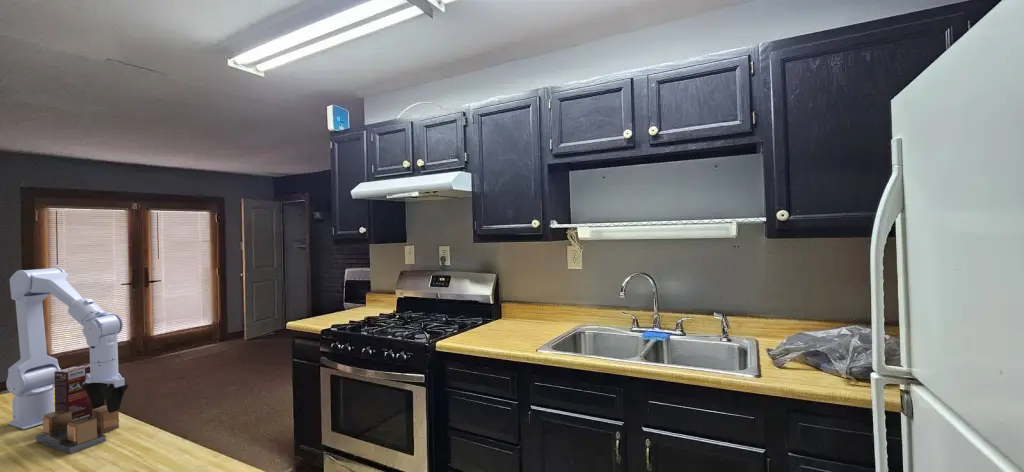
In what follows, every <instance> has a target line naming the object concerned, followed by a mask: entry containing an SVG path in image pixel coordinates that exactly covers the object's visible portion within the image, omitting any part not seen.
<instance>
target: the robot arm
mask: <svg viewBox="0 0 1024 472" xmlns="http://www.w3.org/2000/svg"><path fill="white" fill-rule="evenodd" d="M69 279H70V278H69V274H68V273H67V272H66V271H65V270H64V269H63V268H61V267H59V266H56V267H55V266H54V267H49V268H37V269H36V268H35V269H26V270H25V269H19V270H16V271H15V272H14V273H13V274H12V276H11V277H10V278H9V288H10V289H9V290H10V295H11V297H10V298H11V300H14V301H15V311H16V320H17V321H16V322H17V330H18V332H17V333H18V344H19V352H20V353H19V354H20V359H18V361H16V362H15V363H13V365H11V366H10V367H9V368H8V369H7V371H8V372H7V379H6V383H5V384H6V386H5V387H6V389H7V391H8V392H9V393H10V394H12V395H13V398H12V402H11V404H12V406H11V407H12V409H11V410H12V420H11V421H9V422H7V423H8V425H10V426H13V427H16V428H19V429H22V430H27V429H30V428H34V427H38V426H40V425H43V417H44V415H45V414H48V413H52V412H55V393H54V389H55V375H54V372H55V371H59V370H62V368H60V365H59V359H57V358H55V357H52V356H50V355H48V351H47V338H46V331H45V329H46V328H45V320H44V319H45V317H44V309H43V308H44V307H43V306H44V305H43V301H44V300H45V299H47V298H48V296H51V295H52V296H53V297H55V298H56V299H57V300H59V301H60V302H62V303H63V304H64V305H66V307H68V309H67V313H68V314H69V316H71V317H72V318H73V319H74V320H75V321H76V322H77V323H78V324H80V325H81V326H82V327H83V328H82V335H83V336H84V337H85V340H86V343H85V344H86V345H87V346H89V363H90V373H88V374H86V380H85V383H86V384H83V385H82V388H83V389H84V390H85V391H86V393H87V395H88V397H89V399H90V402H91V405H92V407H93V409H95V408H99V407H103V406H105V403H106V405H107V409H108V412H109V413H112V412H115V411H118V412H119V411H120V408H121V404H122V400H123V397H124V395H125V394H126V393H125V392H126V390H127V389H128V388H129V383H127V382H125V377H122V375H121V373H119V351H118V350H119V349H118V347H119V346H118V345H119V344H118V335H119V334H120V333H121V332H122V330H123V326H124V324H123V320H122V318H121V317H120V316H119V315H118V314H117V313H111V312H107V311H105V310H104V309H103V308H102V307H101V306H99V304H98V303H96V302H95V301H94V299H92V298H83V297H82V295H80V293H79V292H78V291H77V290H76V289H75V288H74V286H73V285H71V284H70V282H69Z"/></svg>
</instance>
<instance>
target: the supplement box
mask: <svg viewBox="0 0 1024 472" xmlns="http://www.w3.org/2000/svg"><path fill="white" fill-rule="evenodd" d="M88 373H90V362H86V363H82V364H79V365H76V366H71V367H68V368H65V369H61V370H59V371H55V372H54V375H55V387H54V412H55V411H59V410H62V409H65V410H69V411H72V421H74V420H77V419H80V418H84V417H87V416H90V417H93V416H92V410H93V407H92V405H91V402H90V399H89V397H88V395H87V393H86V391H85V390H84V389H83V388H82V385H83V384H86V383H85V380H86V374H88ZM95 409H96V408H95Z"/></svg>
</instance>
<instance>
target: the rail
mask: <svg viewBox="0 0 1024 472" xmlns="http://www.w3.org/2000/svg"><path fill="white" fill-rule="evenodd" d="M42 432H44V433H40V434H39V435H36V436H35V442H36V443H38V444H40V445H43V446H46V447H50V448H53V449H54V450H58V451H60V452H63V453H66V454H68V455H72V454H74V453H77V452H81V451H82V450H85V449H88V448H91V447H93V446H96V445H100V444H101V443H104V442H106V441H107V439H106V438H107V436H106V434H104V433H103V434H100V433H97V419H96V418H93V417H90V416H87V417H84V418H80V419H77V420H74V421H72V411H69V410H65V409H62V410H59V411H55V410H54V412H52V413H48V414H45V415H44V417H43V424H42Z"/></svg>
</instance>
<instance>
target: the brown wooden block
mask: <svg viewBox="0 0 1024 472" xmlns="http://www.w3.org/2000/svg"><path fill="white" fill-rule="evenodd" d="M92 416H93V418H96V419H97V433H100V434H103V435H104V434H105V433H108V432H111V431H113V430H117V429H120V421H119V420H120V419H119V410H118V411H115V412H112V413H109V412H108V409H107V404H106V405H104V406H102V407H99V408H96V409H93V410H92Z"/></svg>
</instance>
